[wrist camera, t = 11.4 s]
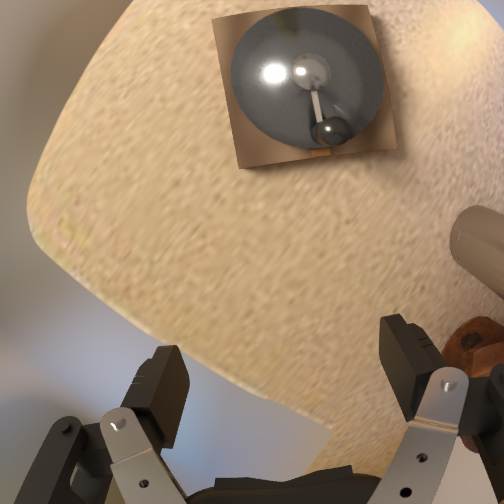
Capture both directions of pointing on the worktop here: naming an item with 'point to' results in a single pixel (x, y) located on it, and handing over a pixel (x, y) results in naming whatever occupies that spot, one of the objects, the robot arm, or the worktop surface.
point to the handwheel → (307, 78)
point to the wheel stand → (272, 151)
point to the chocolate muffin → (475, 353)
